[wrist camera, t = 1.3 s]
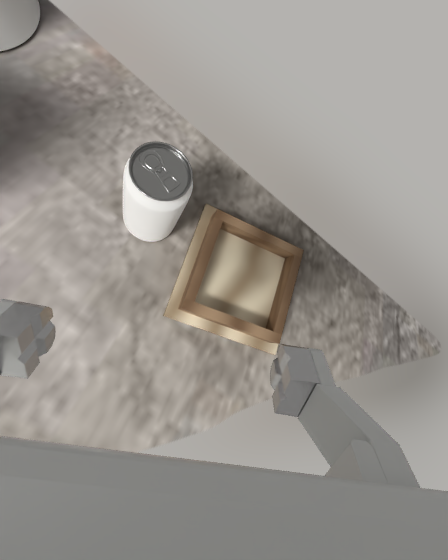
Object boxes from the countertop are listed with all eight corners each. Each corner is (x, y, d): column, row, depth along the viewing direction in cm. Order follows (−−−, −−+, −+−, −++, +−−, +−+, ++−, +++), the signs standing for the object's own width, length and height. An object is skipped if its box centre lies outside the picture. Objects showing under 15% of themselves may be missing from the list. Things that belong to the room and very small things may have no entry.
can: (151, 184, 37) (164, 124, 26) (184, 223, 38) (211, 180, 27) (111, 212, 35) (106, 159, 24) (147, 253, 36) (158, 219, 25)
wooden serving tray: (163, 315, 35) (167, 314, 32) (204, 205, 39) (211, 195, 36) (273, 354, 39) (285, 356, 37) (300, 251, 44) (313, 245, 41)
